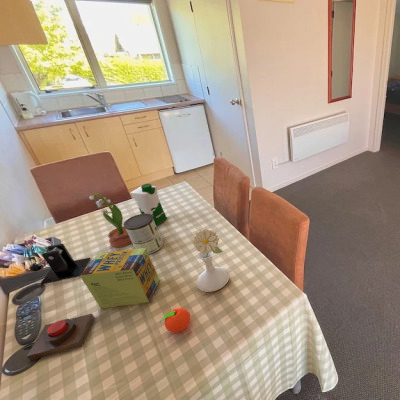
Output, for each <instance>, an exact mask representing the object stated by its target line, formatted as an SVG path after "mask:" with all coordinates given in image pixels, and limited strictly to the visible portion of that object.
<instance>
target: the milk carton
mask: <svg viewBox="0 0 400 400" xmlns="http://www.w3.org/2000/svg"><path fill="white" fill-rule="evenodd" d="M129 195H131V196H132V198H133V200H135V202H136V205H137V207H138V210H139V212H140V214H151V215H152V216H153V220H154V222H155V225H156V227H158V226H159V225H160V224H162V223H163V222H164V221H165V220H166V219H167V218H168V217H167V215H166V213H165V211H164V208H163V206H162V202H161V200H160V197H159V194H158V188H157V185H152V184H151V183H145V184H142V185H140V186H138V187H137V188H136V189H134V190H132V191H130V193H129Z"/></svg>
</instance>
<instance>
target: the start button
mask: <svg viewBox="0 0 400 400" xmlns="http://www.w3.org/2000/svg"><path fill="white" fill-rule="evenodd" d="M52 323H53V324H52V325H51V326H50V327H49V328H48V329H47V332H48V334H49V335H50V336H52V337H55V336H58V335H60V334H62V333H63V332H64V331H65V330H66V329H67V328H68V325H67V324H66V322H65V321H60V320H57V321H55V322H52Z"/></svg>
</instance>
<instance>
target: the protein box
mask: <svg viewBox="0 0 400 400" xmlns="http://www.w3.org/2000/svg"><path fill="white" fill-rule="evenodd" d="M79 277H80V279H81V280H82V282H83V283H84V285H85V286H86V288H87V289H88V291H89V293H90V294H91V296H92V297H93V299H94V300H95V303H97V305H98V307H99V308H100V309H108V308H115V307H123V306H130V305H138V304H147V303H150V302H151V299H152V297H153V296H154V293H155V291H156V289H157V287H158V285H159V283H160V280H161V279H160V277H159V274H158V273H157V270H156V268H155V266H154V263H153V262H152V259H151V257H150V254H148V252H147V250H146V248H141V249H135V248H134V249H123V250H116V251H107V252H99V253H97V254H96V255H95V257H94V258H93V259H92V260H91V262H89V263H88V264H87V266H86V268H85V269H84V271H83V272H82V274H81V275H80V276H79Z"/></svg>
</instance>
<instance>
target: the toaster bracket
mask: <svg viewBox="0 0 400 400" xmlns="http://www.w3.org/2000/svg"><path fill="white" fill-rule="evenodd" d="M55 247H57V248H59V249H61V250H63V251H62V252H61V254H60V253H59V251H58V250H56V251H51V250H53V249H54V248H55ZM47 250H48V251H45V252H42V253H41V256H42V257H43V259H45V260H46V262H45V263H47V264H48V266H49V267H50V269H51V270H50V269H49V271H48V272H47V273H46V274H45V276H44V277H43V279H42V281H41V282H40V285H45V284H49V283H54V282H59V281H63V280H69V279H72V278H77V277H80V275H81V274H82V272H83V271H84V270H85V269H86V268H87V267H88V265H89V263H90V261H91V257H86V258H80V259H76V260H74V258H73V256H72V255H71V253H70V252H69V251H68V249H67V247H66V246H65V245H64V243H58V244H52V245H48V246H47ZM50 251H51V252H50Z"/></svg>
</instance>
